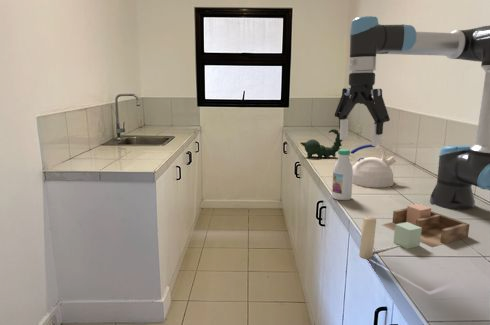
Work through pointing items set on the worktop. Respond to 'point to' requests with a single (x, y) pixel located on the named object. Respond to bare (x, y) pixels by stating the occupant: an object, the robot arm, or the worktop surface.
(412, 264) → the worktop surface
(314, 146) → the toy figurine
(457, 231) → the lane shelf
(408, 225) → the green headed mallet
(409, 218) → the terracotta block
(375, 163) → the kettle
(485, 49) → the robot arm
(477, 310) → the worktop surface
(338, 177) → the milk bottle
